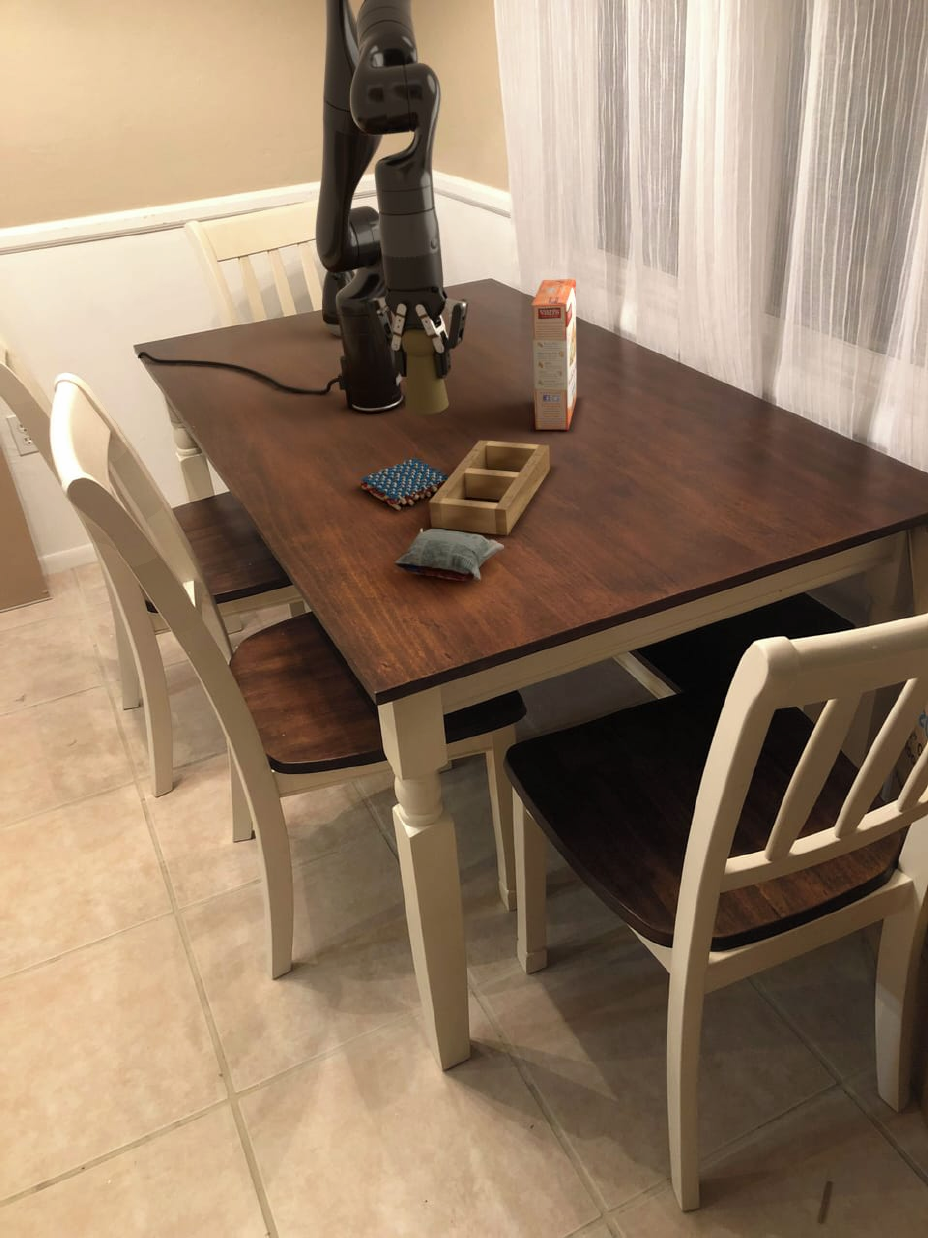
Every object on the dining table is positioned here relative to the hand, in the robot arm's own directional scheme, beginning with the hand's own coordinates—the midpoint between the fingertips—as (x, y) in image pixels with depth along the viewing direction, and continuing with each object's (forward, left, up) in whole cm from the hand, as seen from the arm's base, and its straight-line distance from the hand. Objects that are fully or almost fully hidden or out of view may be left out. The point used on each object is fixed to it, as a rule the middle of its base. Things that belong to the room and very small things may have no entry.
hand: (424, 375), depth 130 cm
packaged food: (+9, -18, -19) cm, 28 cm away
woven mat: (-6, +2, -19) cm, 20 cm away
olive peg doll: (0, 0, -5) cm, 5 cm away
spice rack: (+8, +2, -19) cm, 20 cm away
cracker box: (+9, +33, -19) cm, 39 cm away
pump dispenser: (-49, +70, -19) cm, 87 cm away
